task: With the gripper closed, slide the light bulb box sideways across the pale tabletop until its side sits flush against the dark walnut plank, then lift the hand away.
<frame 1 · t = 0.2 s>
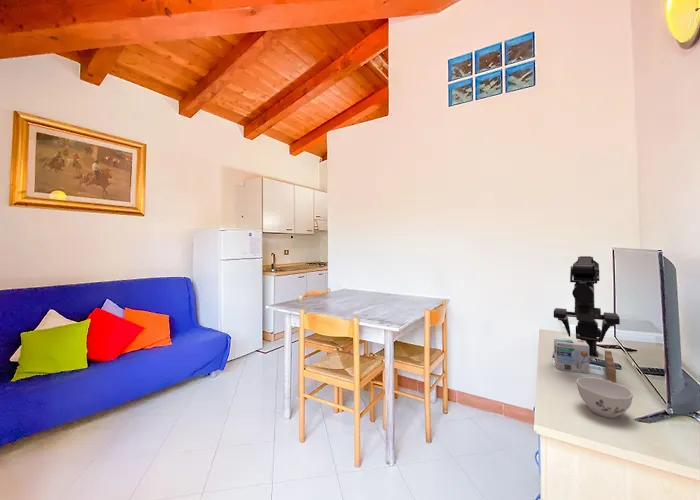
hand: (585, 338, 107), 14 cm above the tv stand, fingers open, 9 cm apart
white floral bowl: (603, 411, 86), on the tv stand
light bulb box: (571, 368, 114), on the tv stand
walnut plank: (610, 375, 107), on the tv stand
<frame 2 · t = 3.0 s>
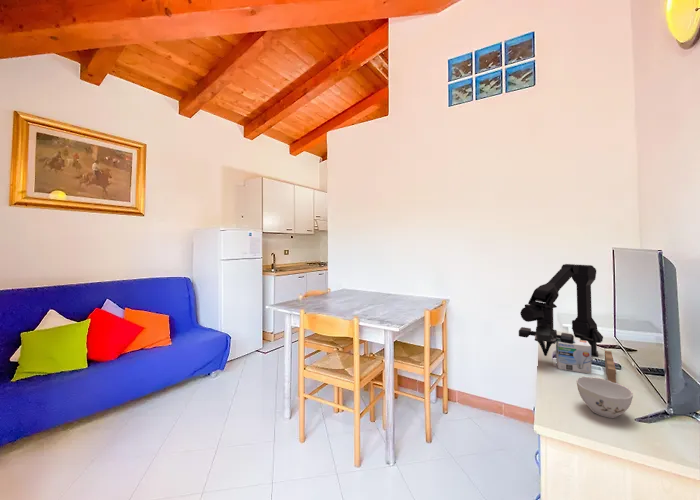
hand: (545, 355, 120), 3 cm above the tv stand, fingers closed
light bulb box: (573, 368, 114), on the tv stand, touching gripper
everything else where it was.
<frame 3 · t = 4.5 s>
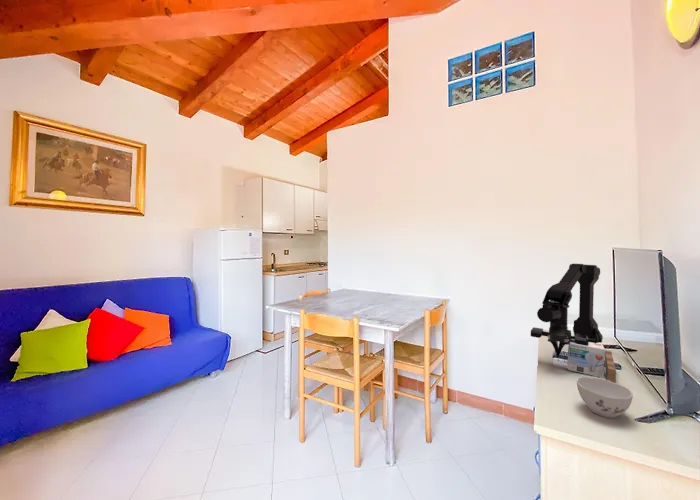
hand: (558, 357, 117), 4 cm above the tv stand, fingers closed
light bulb box: (584, 371, 111), on the tv stand, touching gripper
everything else where it was.
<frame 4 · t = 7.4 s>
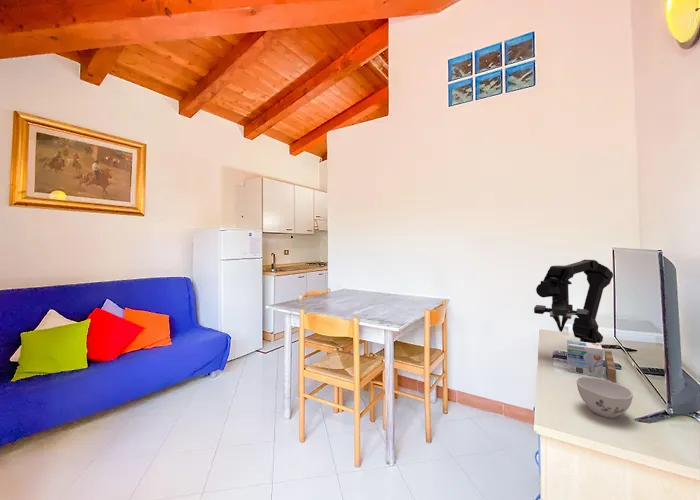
hand: (561, 331, 123), 12 cm above the tv stand, fingers closed
light bulb box: (584, 372, 111), on the tv stand
everything else where it was.
at the end: light bulb box inside the target area on the tv stand beside the walnut plank (1.2 cm from its centre), on the tv stand; light bulb box tilted 0° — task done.
